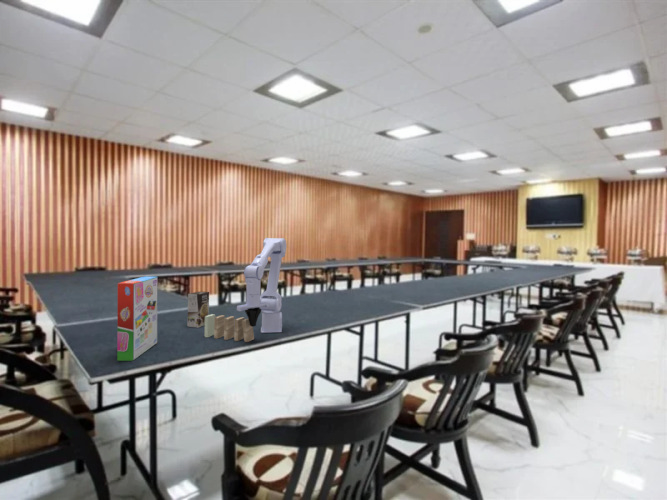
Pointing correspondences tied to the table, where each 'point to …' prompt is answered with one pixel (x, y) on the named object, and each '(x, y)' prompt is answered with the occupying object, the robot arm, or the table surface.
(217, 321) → the domino
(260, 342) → the table surface
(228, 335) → the domino
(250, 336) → the domino
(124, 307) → the game box
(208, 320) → the domino
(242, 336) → the domino
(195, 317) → the coffee box
